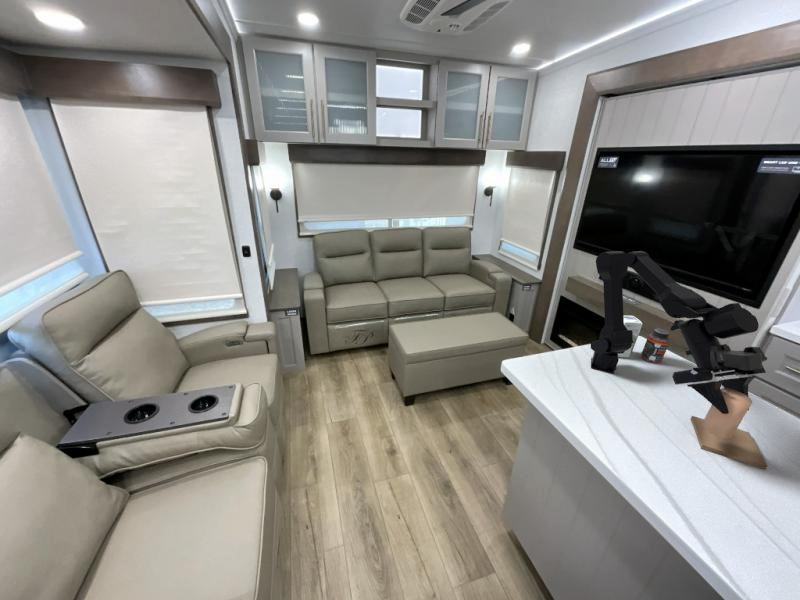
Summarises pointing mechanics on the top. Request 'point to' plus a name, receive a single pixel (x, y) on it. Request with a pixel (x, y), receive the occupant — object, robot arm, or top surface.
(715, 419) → the peach rounded cylinder
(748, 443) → the walnut serving board
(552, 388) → the top surface
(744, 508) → the top surface
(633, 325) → the syrup box
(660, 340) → the supplement bottle
